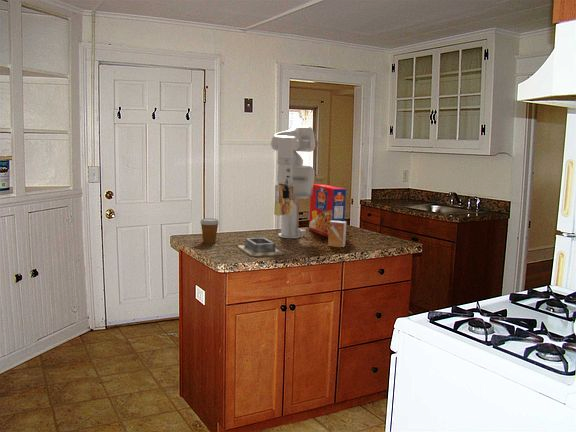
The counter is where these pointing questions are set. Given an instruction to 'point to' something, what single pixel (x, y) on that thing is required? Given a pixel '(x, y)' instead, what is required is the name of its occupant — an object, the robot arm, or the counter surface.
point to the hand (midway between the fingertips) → (283, 197)
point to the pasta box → (326, 207)
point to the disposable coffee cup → (209, 230)
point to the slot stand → (259, 247)
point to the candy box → (283, 201)
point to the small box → (337, 233)
